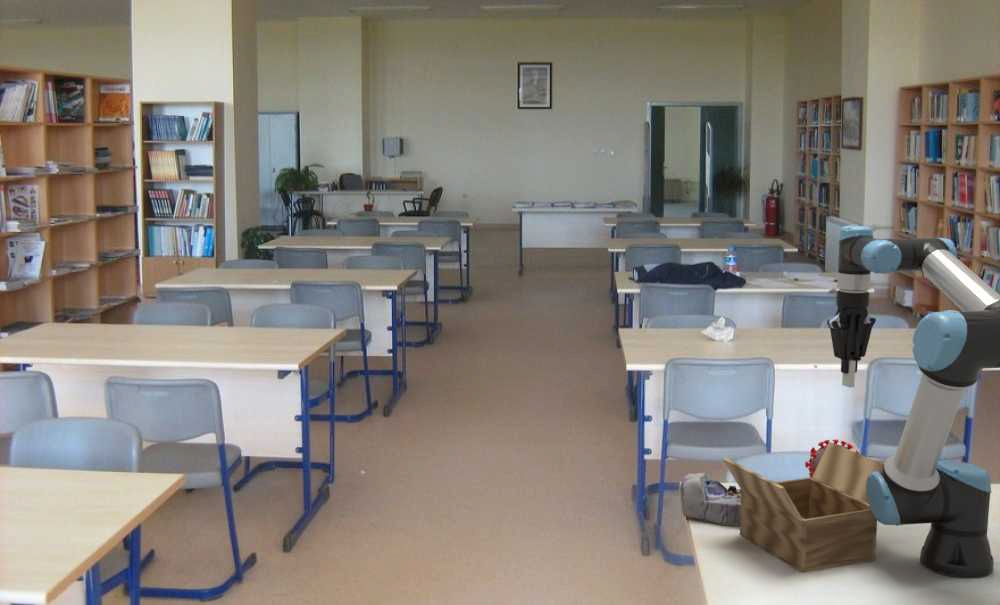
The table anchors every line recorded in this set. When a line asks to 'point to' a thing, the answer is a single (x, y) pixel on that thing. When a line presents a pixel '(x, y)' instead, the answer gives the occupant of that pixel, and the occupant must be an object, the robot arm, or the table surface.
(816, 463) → the virus model
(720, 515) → the cell model
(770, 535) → the carton
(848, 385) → the robot arm
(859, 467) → the right flap
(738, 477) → the left flap
